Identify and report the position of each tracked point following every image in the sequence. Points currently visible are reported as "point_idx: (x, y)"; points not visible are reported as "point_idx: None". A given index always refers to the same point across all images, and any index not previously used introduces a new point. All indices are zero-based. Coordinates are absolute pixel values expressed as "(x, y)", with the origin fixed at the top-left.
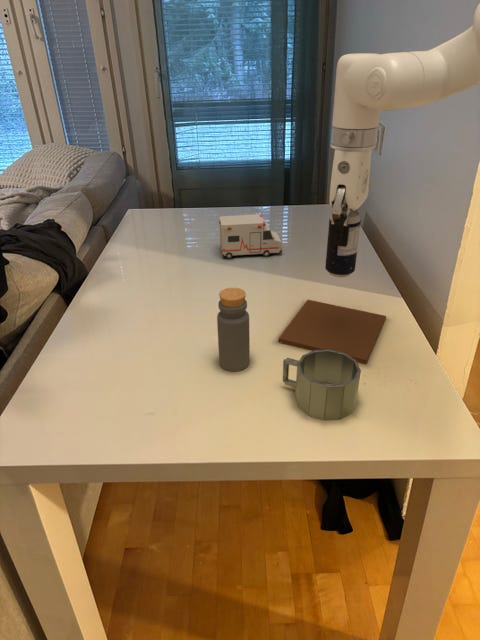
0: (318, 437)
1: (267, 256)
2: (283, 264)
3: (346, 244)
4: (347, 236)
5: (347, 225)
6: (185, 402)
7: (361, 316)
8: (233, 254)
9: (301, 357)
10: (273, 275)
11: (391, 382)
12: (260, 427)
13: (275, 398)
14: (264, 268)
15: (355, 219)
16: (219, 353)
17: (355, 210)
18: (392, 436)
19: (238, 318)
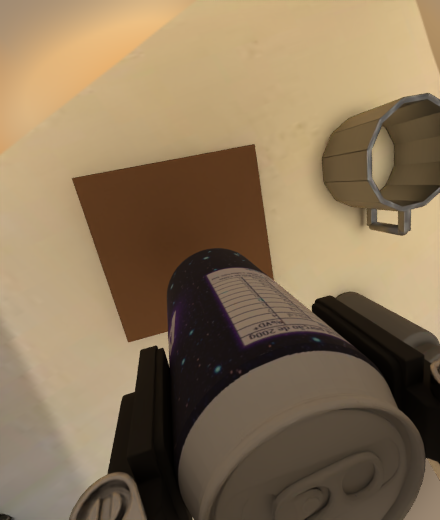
0: None
1: (4, 515)
2: (9, 472)
3: (333, 299)
4: (363, 318)
5: (416, 367)
6: (430, 301)
7: (115, 223)
8: None
9: (408, 209)
10: (74, 450)
11: (275, 84)
12: (435, 205)
13: (385, 221)
14: (60, 480)
15: (352, 382)
16: None
17: (146, 515)
18: (389, 38)
19: (432, 341)
